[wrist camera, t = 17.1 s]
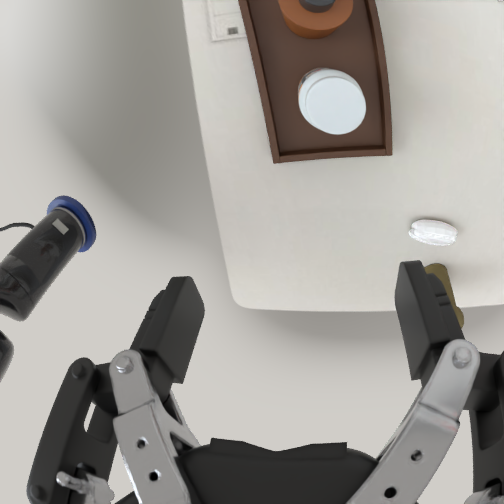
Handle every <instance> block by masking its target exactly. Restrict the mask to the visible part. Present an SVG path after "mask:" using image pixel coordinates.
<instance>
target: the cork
mask: <svg viewBox="0 0 504 504" xmlns="http://www.w3.org/2000/svg"><path fill="white" fill-rule="evenodd" d="M424 269H425V271H426V274H428V273H434V274H435V275H436V276H437V277H438V278H439V279H440V280H441V281H442V283H443V285H444V287H445V290H446V292H447V295H448V297H449V299H450V301H451V304H452V306H453V309H454V311H455V314H456V316H457V319H458V322H459V324H460V327H461V328H462V327H463V324H464V316H463V313H462V311H461V310H460V309H459V307H457V306H456V303H455V299H454V295H453V291H452V287H451V283H450V279H449V276H448V272H447V269H446V268H445V266H443V265H441V264H431V265H429V266H427V267H425V268H424Z"/></svg>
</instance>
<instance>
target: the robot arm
mask: <svg viewBox="0 0 504 504" xmlns="http://www.w3.org/2000/svg"><path fill="white" fill-rule="evenodd" d="M19 226H25V227H30V228H31V229H32V230H31V231H30V232H29V233H28V234H27V235H26V236H25V237H24V238H23V239H22V240H21V241H20V242H19V243H18V244H17V245H16V246H15V247H14V248H13V249H12V250H11V252H10V253H9V254H8V255H7V256H6V257H5V258H4V260H3V261H2V262H1V263H0V314H3V315H5V316H8V317H10V318H12V319H14V320H17V321H24V320H26V319H27V318H28V317H29V315H30V314H31V312H32V311H33V309H34V308H35V306H36V305H37V303H38V302H39V301H40V299H41V298H42V296H43V295H44V294H45V292H46V291H47V290H48V288H49V287H50V286H51V284H52V283H53V282H54V280H55V279H56V278H57V276H58V275H59V274H60V273H61V271H62V270H63V269H64V268H65V266H66V265H67V264H68V263H69V261H70V260H71V259H72V258H73V257H74V255H75V254H76V253H77V252H78V251H79V249H81V248H82V247H83V245H84V244H85V243H86V240H87V232H86V229H85V226H84V224H83V222H82V220H81V219H80V218H79V216H78V215H77V214H76V213H75V212H74V211H73V210H71V209H70V208H68V207H66V206H61V205H60V206H56V207H55V208H53V209H52V210H51V211H50V213H49V214H48V215H47V216H45V217H44V218H43V219H42V220H41V221H40V222H39V223H38V224H37V225H36V226H33V225H31V224H29V223H13V224H9V225H7V226H5V227H3V228H0V231H3V230H6V229H8V228H11V227H19ZM395 306H396V310H397V314H398V318H399V322H400V326H401V331H402V335H403V339H404V344H405V348H406V353H407V358H408V363H409V369H410V374H411V380H418V379H421V384H422V388H421V389H420V391H419V393H418V395H417V397H416V398H415V400H414V402H413V404H412V405H411V407H410V409H409V410H408V412H407V414H406V415H405V417H404V419H403V420H402V422H401V423H400V425H399V427H398V428H397V430H396V431H395V432H394V434H393V435H392V437H391V438H390V439H389V441H388V442H387V444H386V445H385V446H384V448H383V449H382V450H381V452H380V453H379V455H378V456H377V457H376V459H375V458H373V457H371V456H370V455H368V454H366V453H363V452H361V451H358V450H354V449H349V448H347V442H342V443H323V444H310V445H305V446H301V447H297V448H292V449H288V450H283V451H271V450H268V449H264V448H262V447H258V446H255V445H252V444H249V443H246V442H243V441H234V440H225V439H217V438H211V442H210V444H208V445H203V446H201V445H200V444H199V442H198V440H197V439H196V438H195V436H194V435H193V434H192V432H191V431H190V430H189V428H188V426H187V424H186V422H185V420H184V417H183V415H182V413H181V411H180V409H179V406H178V404H177V402H176V399H175V397H174V394H173V392H172V390H171V385H172V383H181V384H183V381H184V378H185V375H186V372H187V368H188V365H189V362H190V359H191V356H192V352H193V349H194V346H195V343H196V340H197V336H198V333H199V330H200V327H201V324H202V321H203V318H204V311H205V310H204V303H203V301H202V298H201V296H200V294H199V292H198V290H197V287H196V285H195V283H194V281H193V279H192V278H191V277H190V276H184V277H172V278H171V279H170V281H169V283H168V286H167V287H166V289H165V290H162V291H160V293H159V294H158V295H157V296H156V297H155V298H154V299H153V301H152V303H151V305H150V307H149V311H147V313H146V315H145V319H143V322H142V323H141V326H140V328H139V330H138V332H137V334H136V336H135V338H134V341H133V343H132V345H131V347H130V349H129V350H124V351H122V352H120V353H118V354H117V355H116V356H115V357H114V358H113V360H112V361H111V363H105V364H99V365H95V364H94V363H93V362H92V361H91V360H90V359H88V358H79V359H78V360H76V361H74V363H72V364H71V366H70V367H69V369H68V372H67V374H66V376H65V378H64V380H63V383H62V385H61V387H60V390H59V392H58V394H57V397H56V400H55V402H54V405H53V407H52V410H51V412H50V415H49V417H48V420H47V423H46V425H45V428H44V431H43V434H42V437H41V440H40V443H39V446H38V449H37V452H36V455H35V458H34V462H33V465H32V469H31V472H30V476H29V480H28V484H27V496H28V499H29V501H30V503H31V504H111V502H110V501H112V500H113V499H114V492H113V491H112V490H111V489H110V487H109V485H108V483H107V482H108V479H109V475H110V471H111V467H112V463H113V458H114V455H115V452H116V448H117V444H119V447H120V451H121V454H122V457H123V460H124V463H125V466H126V469H127V472H128V475H129V478H130V481H131V483H132V486H133V489H134V491H133V492H131V493H130V494H128V495H127V496H125V497H124V498H122V499H121V500H119V501H118V502H117V503H115V504H418V503H417V500H418V498H419V497H420V495H421V494H422V492H423V491H424V489H425V488H426V486H427V485H428V483H429V482H430V480H431V479H432V477H433V475H434V474H435V472H436V471H437V469H438V467H439V466H440V464H441V462H442V460H443V459H444V457H445V455H446V453H447V451H448V449H449V448H450V446H451V444H452V442H453V440H454V438H455V436H456V434H457V432H458V429H459V426H460V422H459V417H460V414H461V412H462V410H469V415H470V423H471V433H472V445H473V446H472V447H473V494H472V495H471V496H469V498H468V499H467V500H466V501H465V503H464V504H504V351H503V353H502V354H501V355H497V354H488V353H481V352H478V350H477V348H476V347H475V346H474V345H473V344H472V343H471V342H469V341H467V340H465V338H464V335H463V333H462V330H461V327H460V324H459V322H458V319H457V316H456V314H455V311H454V309H453V306H452V304H451V301H450V299H449V297H448V295H447V292H446V290H445V287H444V285H443V283H442V281H441V280H440V279H439V278H438V277H437V276H436V275H435V274H434V273H428V274H426V271H425V269H424V267H423V265H422V263H421V261H420V260H417V261H406V262H401V263H400V266H399V272H398V278H397V284H396V289H395ZM13 354H14V346H13V344H12V342H11V341H10V340H9V338H8V337H7V336H6V335H5V334H4V333H3V332H2V331H1V330H0V382H1V380H2V378H3V377H4V375H5V373H6V371H7V369H8V367H9V365H10V363H11V361H12V358H13ZM91 402H92V403H94V404H95V405H96V406H95V409H94V412H93V415H92V418H91V421H90V424H89V427H88V430H87V432H86V431H85V429H84V421H85V418H86V415H87V412H88V410H89V407H90V404H91Z"/></svg>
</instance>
